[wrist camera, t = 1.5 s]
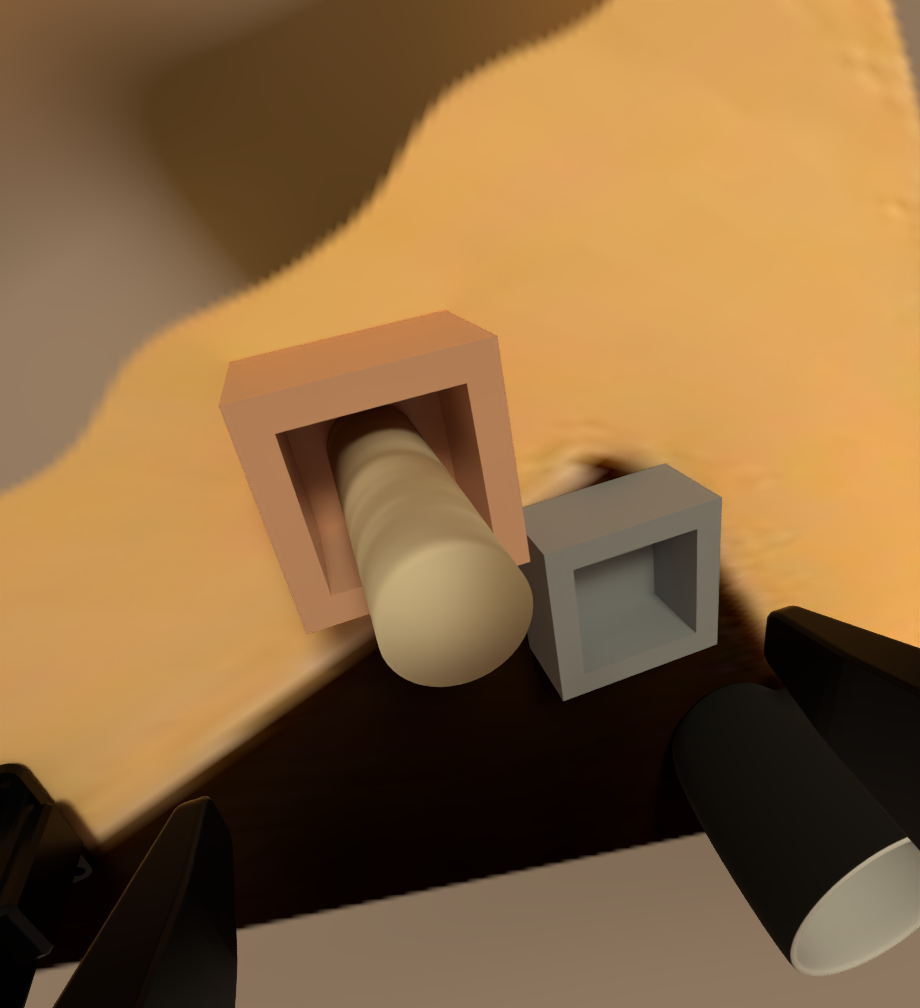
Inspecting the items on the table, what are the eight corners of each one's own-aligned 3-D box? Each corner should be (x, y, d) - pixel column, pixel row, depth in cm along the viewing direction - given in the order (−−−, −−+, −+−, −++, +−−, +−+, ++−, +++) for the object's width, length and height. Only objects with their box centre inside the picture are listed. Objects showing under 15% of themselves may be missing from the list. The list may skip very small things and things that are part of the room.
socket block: (529, 646, 27) (563, 701, 24) (508, 512, 23) (544, 555, 20) (668, 597, 28) (716, 643, 25) (665, 463, 25) (721, 497, 22)
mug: (737, 788, 36) (887, 969, 28) (622, 783, 33) (752, 987, 24) (846, 627, 33) (1058, 775, 24) (729, 600, 29) (929, 763, 20)
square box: (298, 551, 22) (307, 634, 17) (229, 362, 18) (218, 405, 14) (480, 496, 23) (530, 561, 18) (445, 310, 20) (497, 335, 15)
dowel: (340, 498, 20) (397, 707, 11) (315, 415, 19) (357, 581, 10) (425, 474, 21) (541, 656, 12) (406, 391, 19) (522, 528, 11)
